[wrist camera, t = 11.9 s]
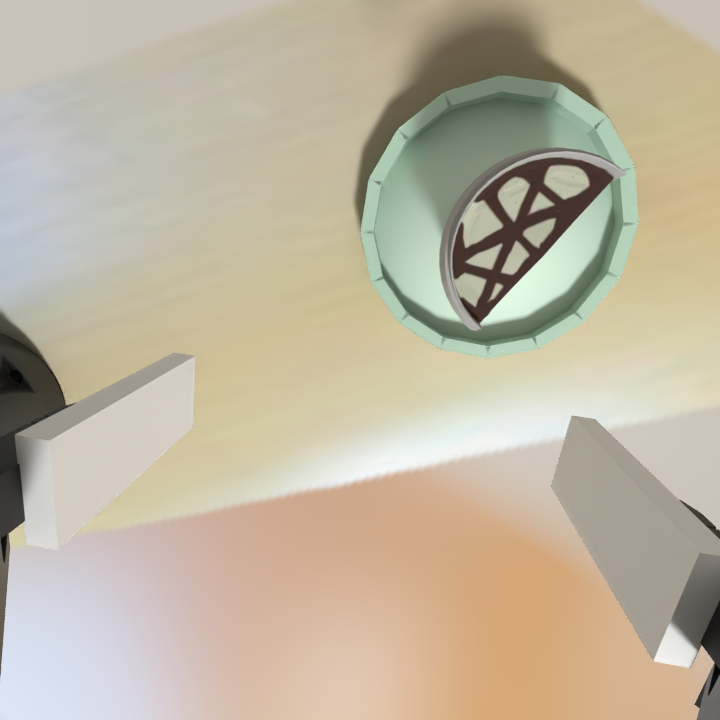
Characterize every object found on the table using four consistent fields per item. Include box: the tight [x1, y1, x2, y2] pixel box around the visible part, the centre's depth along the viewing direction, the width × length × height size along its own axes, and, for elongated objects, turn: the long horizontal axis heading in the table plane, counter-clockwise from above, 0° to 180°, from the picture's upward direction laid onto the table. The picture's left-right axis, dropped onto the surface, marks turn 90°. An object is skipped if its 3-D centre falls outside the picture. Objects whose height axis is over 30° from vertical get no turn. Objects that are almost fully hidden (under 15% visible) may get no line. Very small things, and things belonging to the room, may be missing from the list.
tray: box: [360, 75, 639, 358], centre depth 34 cm, size 20×20×2 cm
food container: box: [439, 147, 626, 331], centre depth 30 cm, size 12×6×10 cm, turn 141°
